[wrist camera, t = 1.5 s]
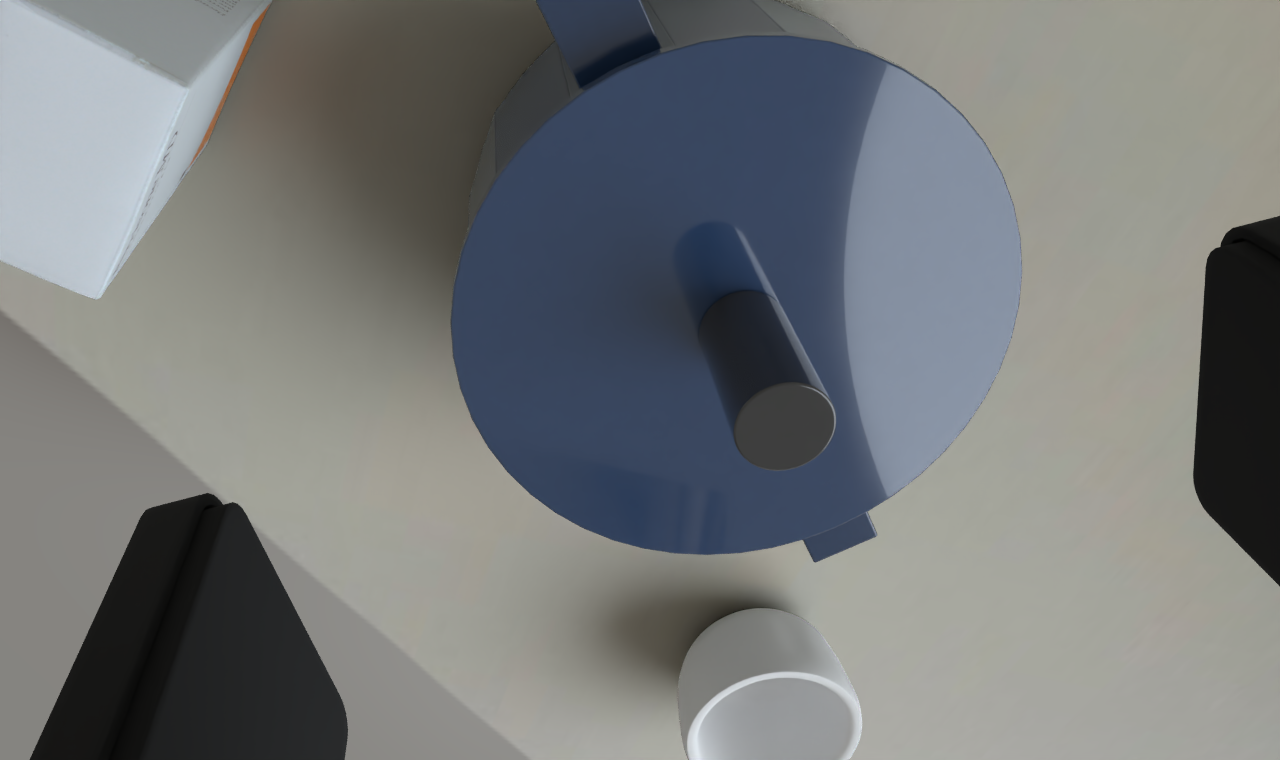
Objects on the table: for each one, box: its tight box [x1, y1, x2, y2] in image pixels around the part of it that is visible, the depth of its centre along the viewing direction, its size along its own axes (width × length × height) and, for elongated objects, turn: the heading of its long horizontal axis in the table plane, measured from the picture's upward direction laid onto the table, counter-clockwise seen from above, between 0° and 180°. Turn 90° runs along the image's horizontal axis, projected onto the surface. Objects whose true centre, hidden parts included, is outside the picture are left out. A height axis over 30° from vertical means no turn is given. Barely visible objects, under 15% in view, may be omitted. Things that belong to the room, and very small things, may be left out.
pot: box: [468, 0, 877, 562], centre depth 35 cm, size 16×21×8 cm
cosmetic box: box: [0, 0, 272, 300], centre depth 28 cm, size 6×4×12 cm
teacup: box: [678, 608, 862, 760], centre depth 48 cm, size 10×8×5 cm
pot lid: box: [451, 32, 1022, 555], centre depth 29 cm, size 17×17×6 cm
